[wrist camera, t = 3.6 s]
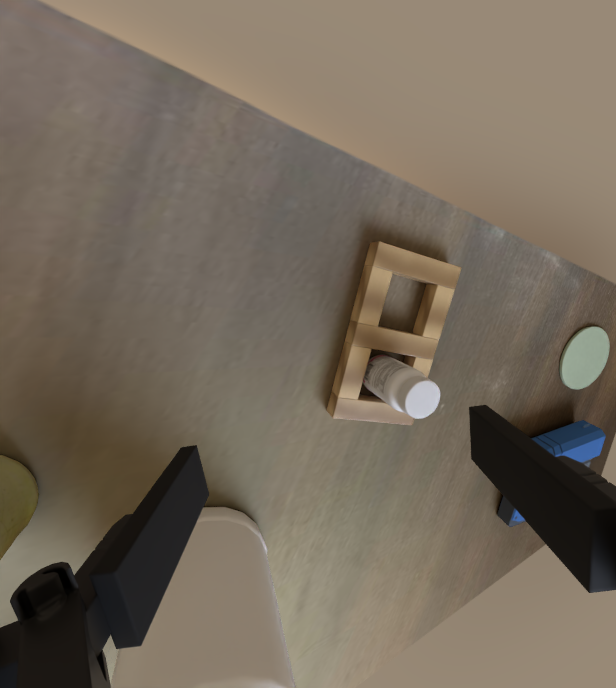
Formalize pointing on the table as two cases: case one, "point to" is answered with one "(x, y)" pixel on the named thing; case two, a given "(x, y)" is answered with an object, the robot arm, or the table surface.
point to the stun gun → (569, 441)
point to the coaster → (584, 357)
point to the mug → (15, 500)
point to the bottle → (214, 616)
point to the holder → (371, 336)
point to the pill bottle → (401, 386)
